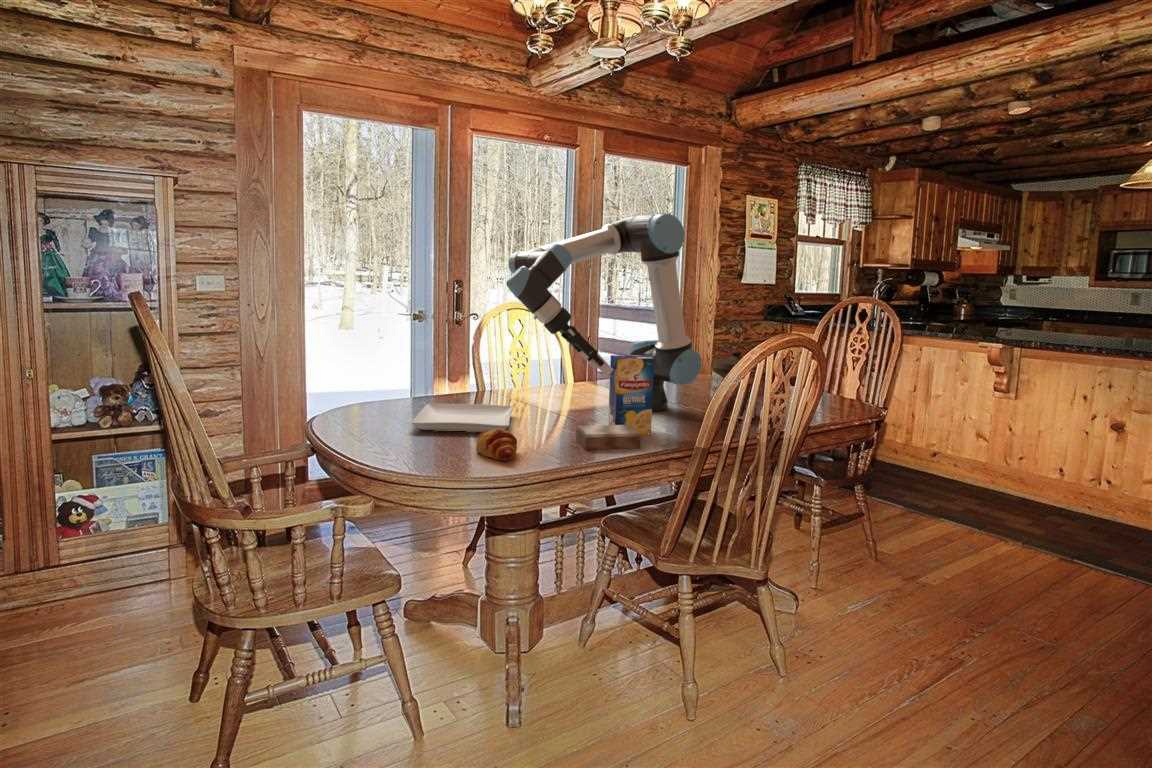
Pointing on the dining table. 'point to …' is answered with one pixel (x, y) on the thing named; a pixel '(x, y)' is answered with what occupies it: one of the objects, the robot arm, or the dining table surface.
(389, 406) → the dining table surface
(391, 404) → the dining table surface
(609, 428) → the base block
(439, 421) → the square plate
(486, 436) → the croissant
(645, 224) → the robot arm
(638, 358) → the beverage box
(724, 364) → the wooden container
